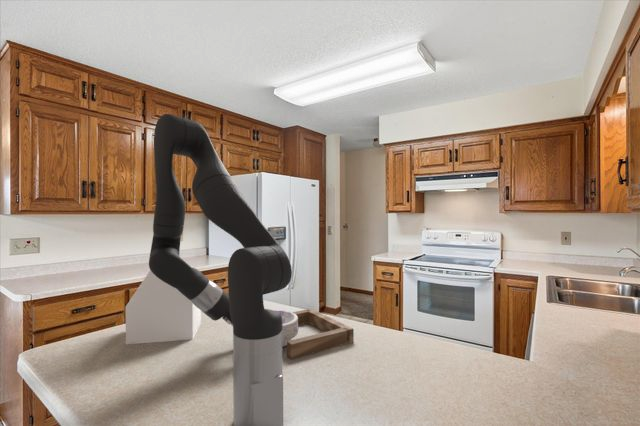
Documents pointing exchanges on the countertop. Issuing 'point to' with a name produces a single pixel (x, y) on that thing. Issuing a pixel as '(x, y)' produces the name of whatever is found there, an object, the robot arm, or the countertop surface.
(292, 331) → the paper bowls
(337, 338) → the walnut bay
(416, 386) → the countertop surface
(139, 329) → the white house shaped block
